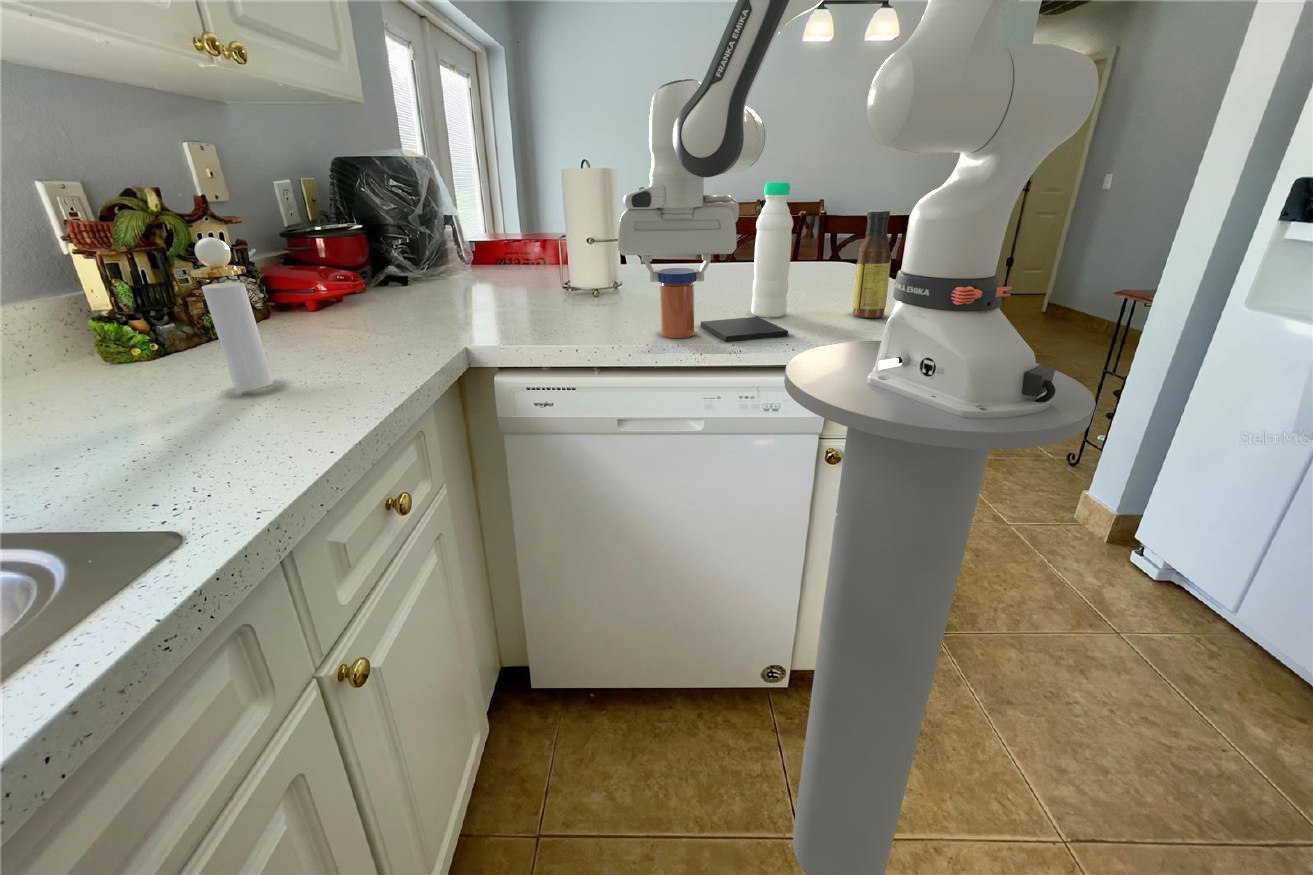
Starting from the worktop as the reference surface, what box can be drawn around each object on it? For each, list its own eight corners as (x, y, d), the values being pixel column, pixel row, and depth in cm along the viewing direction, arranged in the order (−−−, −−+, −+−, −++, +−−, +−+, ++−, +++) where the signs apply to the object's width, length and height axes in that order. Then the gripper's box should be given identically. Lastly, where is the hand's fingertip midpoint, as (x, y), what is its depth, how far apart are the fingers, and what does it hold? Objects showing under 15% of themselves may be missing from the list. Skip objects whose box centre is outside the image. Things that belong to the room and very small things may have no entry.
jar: (699, 336, 104) (699, 276, 100) (667, 339, 102) (666, 279, 98) (687, 328, 109) (687, 271, 105) (657, 331, 108) (655, 274, 103)
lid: (682, 276, 106) (682, 266, 105) (703, 281, 101) (703, 271, 100) (651, 280, 103) (651, 270, 102) (671, 285, 98) (671, 275, 97)
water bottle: (782, 319, 116) (793, 182, 106) (747, 316, 118) (755, 182, 108) (788, 312, 122) (799, 181, 112) (754, 309, 124) (762, 181, 114)
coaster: (787, 336, 104) (788, 330, 103) (725, 342, 100) (726, 336, 100) (757, 321, 114) (757, 316, 114) (700, 326, 111) (700, 321, 111)
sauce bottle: (890, 316, 117) (907, 210, 109) (870, 320, 114) (886, 211, 106) (863, 310, 122) (877, 209, 114) (843, 314, 119) (856, 210, 110)
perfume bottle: (288, 386, 81) (245, 236, 73) (244, 399, 77) (193, 240, 69) (266, 380, 84) (221, 234, 76) (222, 392, 80) (170, 238, 71)
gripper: (736, 194, 99) (733, 277, 105) (616, 195, 99) (619, 279, 105) (742, 195, 93) (738, 283, 99) (615, 197, 93) (618, 285, 99)
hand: (676, 281), depth 102 cm, fingers closed on lid, 6 cm apart
